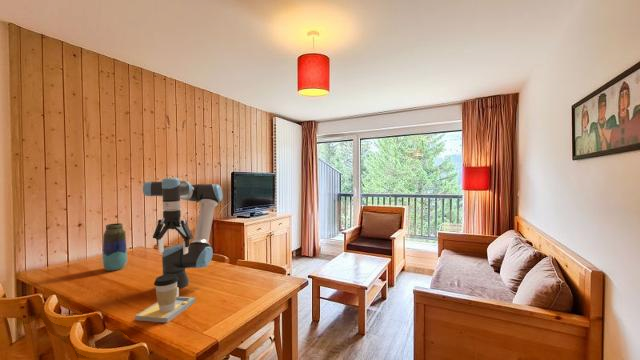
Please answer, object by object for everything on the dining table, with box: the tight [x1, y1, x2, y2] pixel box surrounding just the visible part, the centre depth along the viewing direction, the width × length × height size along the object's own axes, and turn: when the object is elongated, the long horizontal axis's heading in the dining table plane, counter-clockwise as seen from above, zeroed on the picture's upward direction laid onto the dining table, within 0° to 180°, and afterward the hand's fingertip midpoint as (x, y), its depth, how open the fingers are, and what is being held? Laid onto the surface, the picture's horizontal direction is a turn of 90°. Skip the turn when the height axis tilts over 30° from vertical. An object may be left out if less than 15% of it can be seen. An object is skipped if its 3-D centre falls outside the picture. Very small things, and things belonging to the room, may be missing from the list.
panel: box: [134, 296, 197, 324], centre depth 129 cm, size 16×20×2 cm
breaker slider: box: [176, 287, 180, 298], centre depth 137 cm, size 4×4×5 cm
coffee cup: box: [153, 274, 178, 313], centre depth 125 cm, size 10×10×15 cm
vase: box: [101, 222, 128, 272], centre depth 189 cm, size 14×14×31 cm
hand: (173, 253), depth 133 cm, fingers open, 13 cm apart
